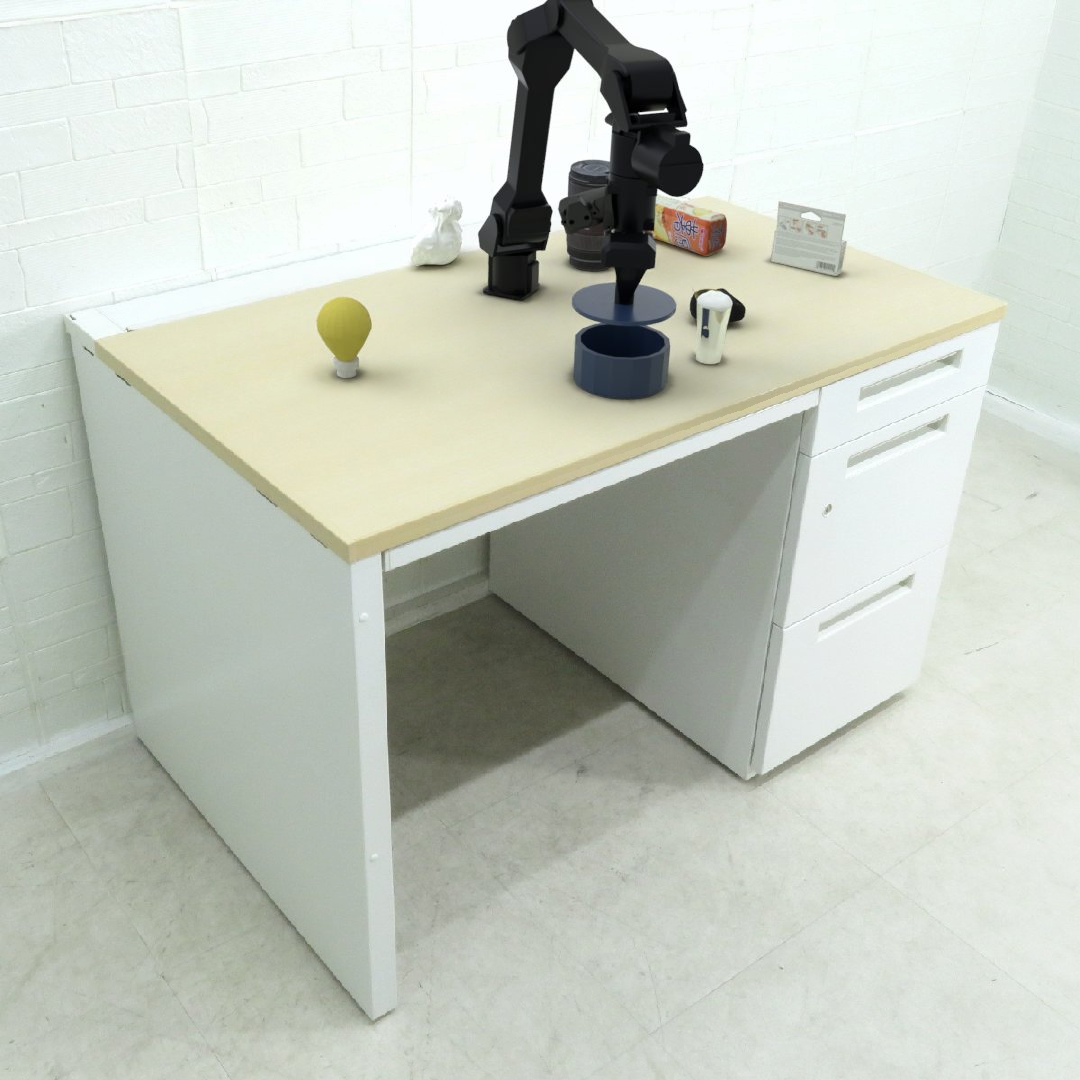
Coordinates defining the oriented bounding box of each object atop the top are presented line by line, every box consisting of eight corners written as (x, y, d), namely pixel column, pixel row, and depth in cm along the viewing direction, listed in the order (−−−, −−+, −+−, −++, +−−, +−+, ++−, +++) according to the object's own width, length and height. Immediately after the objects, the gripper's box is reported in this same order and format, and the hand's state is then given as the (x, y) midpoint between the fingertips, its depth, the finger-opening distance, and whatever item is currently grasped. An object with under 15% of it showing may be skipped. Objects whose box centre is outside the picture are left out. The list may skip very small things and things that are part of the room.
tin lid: (555, 318, 156) (556, 273, 153) (594, 284, 166) (597, 241, 163) (654, 338, 152) (658, 292, 149) (689, 302, 162) (693, 259, 159)
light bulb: (350, 390, 158) (346, 313, 153) (308, 376, 161) (303, 300, 156) (384, 371, 163) (381, 296, 158) (342, 358, 166) (339, 284, 161)
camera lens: (556, 267, 197) (560, 169, 189) (575, 251, 203) (580, 156, 196) (606, 276, 195) (612, 177, 187) (624, 260, 201) (631, 163, 193)
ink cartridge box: (775, 257, 204) (784, 196, 199) (842, 273, 199) (852, 210, 194) (769, 262, 202) (777, 200, 197) (836, 277, 198) (846, 215, 192)
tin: (558, 387, 161) (560, 347, 158) (594, 353, 170) (596, 315, 168) (647, 406, 157) (651, 366, 154) (678, 370, 167) (682, 332, 164)
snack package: (728, 250, 206) (733, 209, 203) (703, 260, 202) (708, 217, 199) (625, 218, 218) (628, 178, 215) (600, 227, 214) (602, 186, 210)
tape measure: (745, 327, 180) (749, 302, 178) (700, 332, 178) (703, 306, 176) (724, 309, 185) (727, 284, 183) (680, 313, 183) (683, 288, 181)
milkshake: (682, 352, 172) (689, 280, 166) (721, 352, 172) (730, 280, 167) (687, 366, 168) (695, 293, 162) (728, 366, 168) (737, 293, 163)
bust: (420, 287, 194) (460, 237, 187) (385, 250, 194) (424, 199, 187) (459, 263, 203) (499, 215, 196) (425, 228, 203) (464, 178, 196)
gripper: (568, 146, 158) (562, 268, 166) (559, 192, 142) (553, 324, 151) (659, 151, 158) (649, 273, 166) (660, 197, 142) (649, 330, 150)
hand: (624, 298), depth 158 cm, fingers closed on tin lid, 2 cm apart
